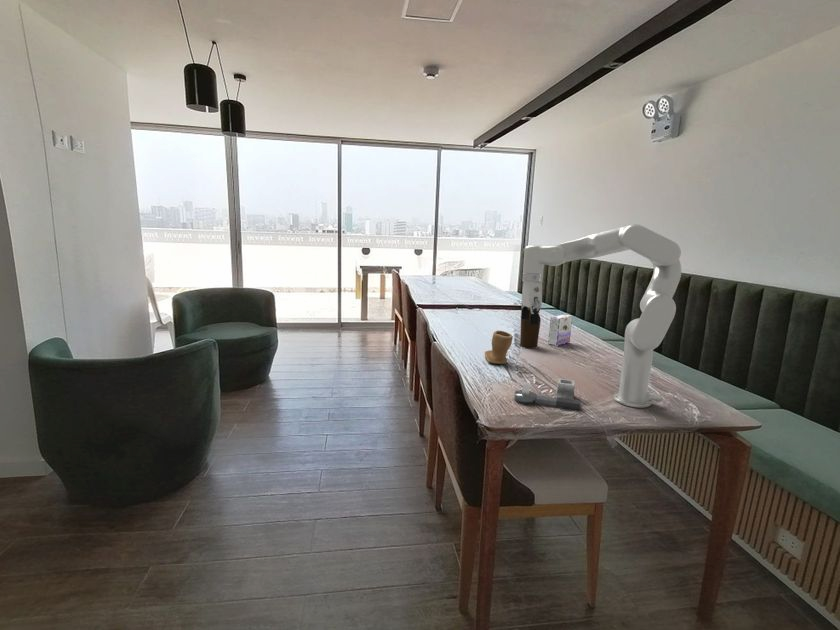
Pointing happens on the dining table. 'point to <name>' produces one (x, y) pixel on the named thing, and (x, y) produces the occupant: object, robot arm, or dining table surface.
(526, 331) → the olive oil
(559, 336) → the candy box
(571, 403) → the ratchet
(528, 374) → the dining table surface
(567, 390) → the socket
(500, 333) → the tan boot
